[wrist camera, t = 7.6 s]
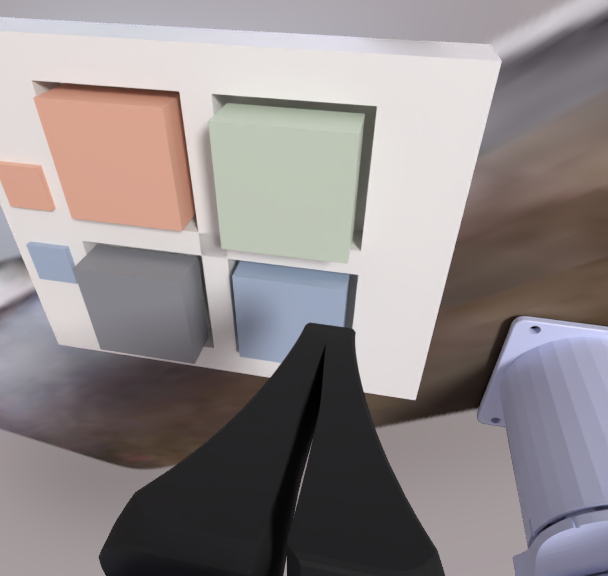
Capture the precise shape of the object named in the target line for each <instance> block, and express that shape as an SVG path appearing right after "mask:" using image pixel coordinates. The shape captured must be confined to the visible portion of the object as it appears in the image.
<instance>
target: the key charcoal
mask: <svg viewBox="0 0 608 576" xmlns="http://www.w3.org/2000/svg"><path fill="white" fill-rule="evenodd" d="M73 271H74V273H75V276H76V279H77V282H78V285H79V288H80V291H81V294H82V297H83V300H84V302H85V305H86V308H87V311H88V314H89V317H90V320H91V323H92V326H93V329H94V332H95V334H96V337H97V340H98V343H99V346H100V349H101V350H108V351H114V352H121V353H127V354H134V355H140V356H146V357H153V358H159V359H166V360H172V361H179V362H185V363H191V364H195V363H196V361H197V359H198V357H199V355H200V353H201V351H202V349H203V347H204V345H205V343H206V341H207V339H208V337H209V334H208V327H207V320H206V313H205V306H204V300H203V293H202V286H201V279H200V272H199V265H198V258H197V257H193V256H185V255H177V254H169V253H160V252H152V251H144V250H136V249H128V248H120V247H112V246H104V245H96V246H95V247H94V248H93V249H92V250H91V251H90V252H89V253H88V254H87V255H86V256H85V257H84V258H83V259H82V260H81V261H80V262H79V263H78V264H77V265H76V266H75V267H74V268H73Z"/></svg>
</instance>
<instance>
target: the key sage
mask: <svg viewBox="0 0 608 576" xmlns="http://www.w3.org/2000/svg"><path fill="white" fill-rule="evenodd" d="M364 118H365V114H361V113H348V112H336V111H323V110H310V109H297V108H284V107H271V106H258V105H245V104H232V103H227V104H225V105H224V106H223V107H222V108H221V109H220V110H219V111H218V112H217V113H216V114H215V115H214V116H213V117H212V118H211V119H210V120H208V124H209V134H210V144H211V153H212V163H213V172H214V182H215V191H216V201H217V211H218V220H219V230H220V239H221V249H228V250H237V251H245V252H253V253H262V254H270V255H278V256H287V257H295V258H303V259H311V260H320V261H328V262H336V263H345V264H348V260H349V255H350V250H351V245H352V239H353V232H354V222H355V211H356V201H357V191H358V180H359V170H360V159H361V149H362V139H363V128H364Z"/></svg>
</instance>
